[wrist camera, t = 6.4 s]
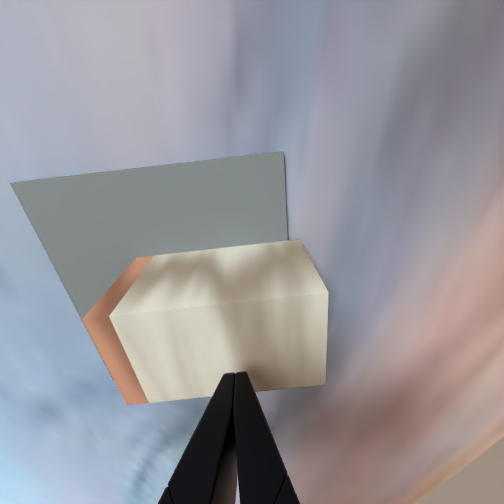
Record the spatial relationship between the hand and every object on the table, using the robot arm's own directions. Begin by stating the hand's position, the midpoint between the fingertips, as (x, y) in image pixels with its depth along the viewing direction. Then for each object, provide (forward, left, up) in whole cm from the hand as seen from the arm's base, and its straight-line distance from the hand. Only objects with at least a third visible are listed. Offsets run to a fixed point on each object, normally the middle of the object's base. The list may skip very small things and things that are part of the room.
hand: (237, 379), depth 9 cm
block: (-4, 0, -4) cm, 5 cm away
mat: (+4, 0, -6) cm, 7 cm away
